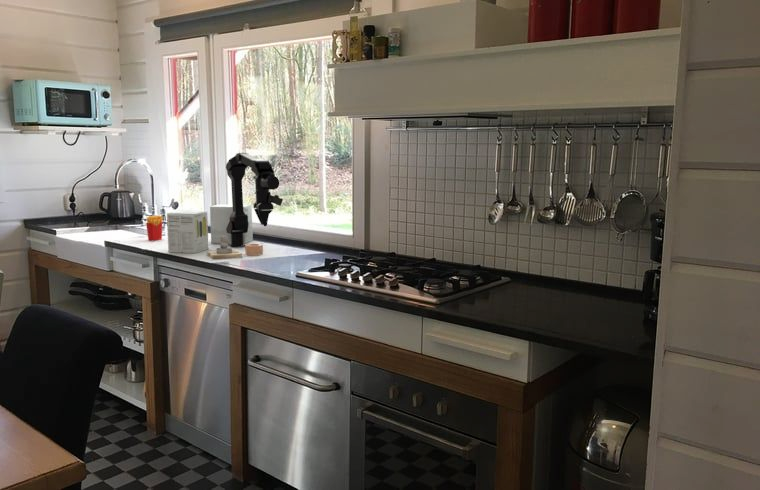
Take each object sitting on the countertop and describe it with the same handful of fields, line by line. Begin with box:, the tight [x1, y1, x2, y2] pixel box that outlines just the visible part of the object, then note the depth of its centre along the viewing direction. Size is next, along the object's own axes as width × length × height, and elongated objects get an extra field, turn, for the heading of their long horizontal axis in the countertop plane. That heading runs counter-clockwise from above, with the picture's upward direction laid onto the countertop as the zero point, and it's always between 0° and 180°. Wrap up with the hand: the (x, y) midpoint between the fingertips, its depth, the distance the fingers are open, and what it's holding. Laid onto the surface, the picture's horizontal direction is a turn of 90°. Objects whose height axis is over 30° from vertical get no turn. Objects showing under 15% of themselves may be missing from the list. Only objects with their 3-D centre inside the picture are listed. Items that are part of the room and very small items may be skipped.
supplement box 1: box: [166, 209, 209, 254], centre depth 285 cm, size 13×13×18 cm
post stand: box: [206, 236, 243, 260], centre depth 272 cm, size 12×12×8 cm
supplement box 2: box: [209, 203, 254, 245], centre depth 312 cm, size 17×13×18 cm
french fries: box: [145, 214, 164, 242], centre depth 317 cm, size 8×4×12 cm, turn 143°
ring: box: [244, 243, 264, 256], centre depth 278 cm, size 7×7×4 cm
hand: (263, 225), depth 277 cm, fingers open, 9 cm apart
